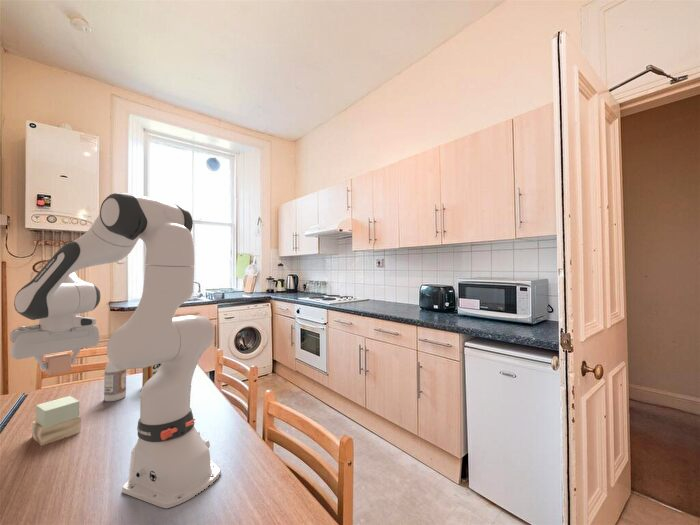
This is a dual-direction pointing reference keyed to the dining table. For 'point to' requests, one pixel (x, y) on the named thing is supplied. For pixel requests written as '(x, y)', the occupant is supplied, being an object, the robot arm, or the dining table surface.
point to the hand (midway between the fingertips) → (57, 366)
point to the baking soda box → (149, 372)
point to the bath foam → (114, 383)
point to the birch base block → (55, 431)
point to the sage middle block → (57, 411)
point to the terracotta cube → (58, 363)
